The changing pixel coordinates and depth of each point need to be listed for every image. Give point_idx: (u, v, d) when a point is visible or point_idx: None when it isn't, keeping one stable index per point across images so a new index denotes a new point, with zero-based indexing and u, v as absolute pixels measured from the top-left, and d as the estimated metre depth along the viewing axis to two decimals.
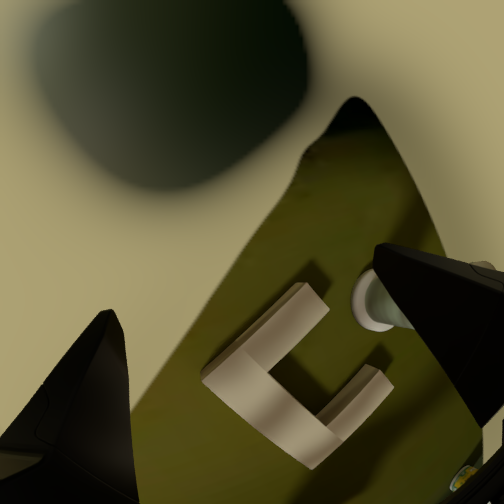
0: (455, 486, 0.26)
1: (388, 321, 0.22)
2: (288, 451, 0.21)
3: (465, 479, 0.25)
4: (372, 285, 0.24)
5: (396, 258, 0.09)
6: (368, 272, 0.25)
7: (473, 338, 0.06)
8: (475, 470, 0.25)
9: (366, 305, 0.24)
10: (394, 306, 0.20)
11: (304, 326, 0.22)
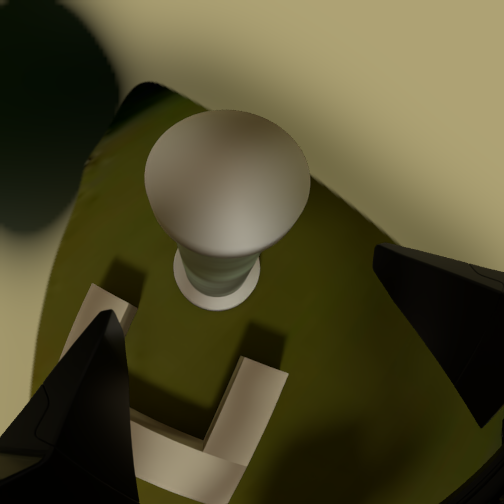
0: None
1: (206, 287, 0.17)
2: (172, 489, 0.14)
3: None
4: None
5: (396, 258, 0.09)
6: None
7: (473, 338, 0.06)
8: None
9: (189, 282, 0.19)
10: (183, 263, 0.15)
11: None
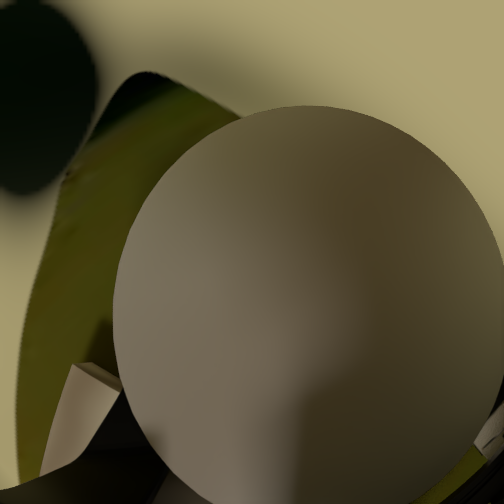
0: None
1: None
2: None
3: None
4: None
5: None
6: None
7: None
8: None
9: None
10: None
11: None
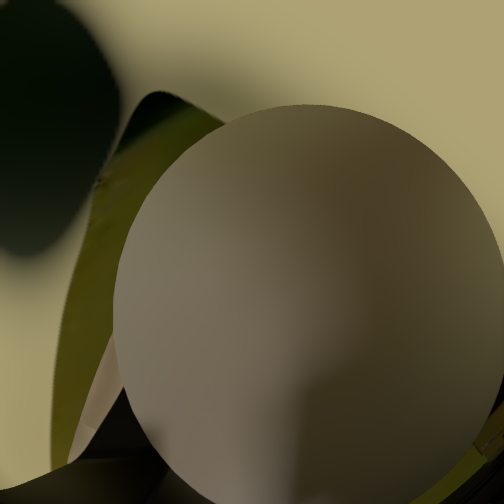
0: None
1: None
2: None
3: None
4: None
5: None
6: None
7: None
8: None
9: None
10: None
11: None
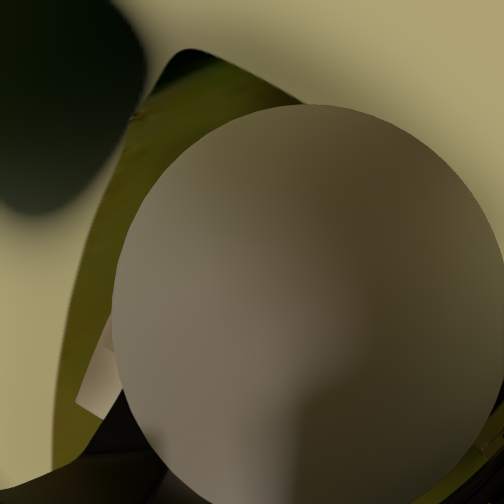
0: None
1: None
2: None
3: None
4: None
5: None
6: None
7: None
8: None
9: None
10: None
11: None
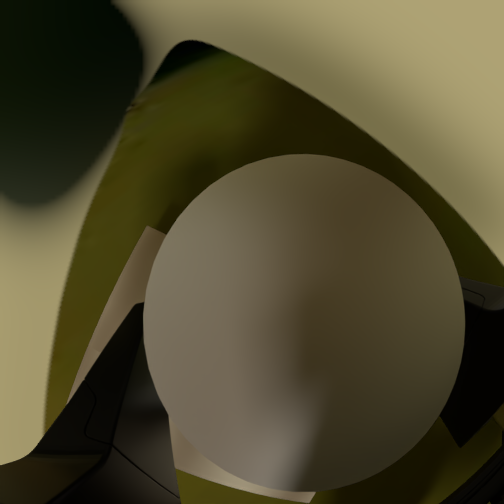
0: None
1: None
2: (247, 488, 0.11)
3: None
4: None
5: None
6: None
7: None
8: None
9: None
10: None
11: None
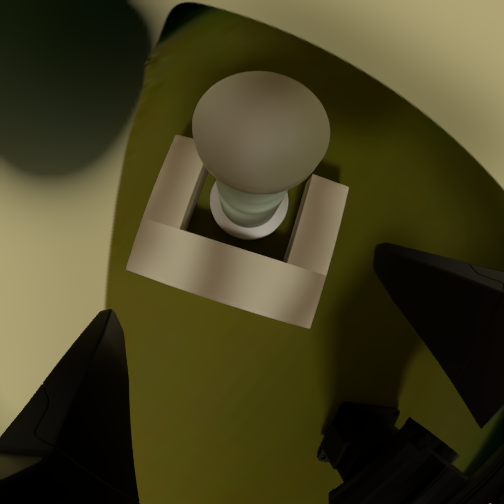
0: None
1: (244, 220, 0.19)
2: (260, 312, 0.20)
3: None
4: None
5: (396, 258, 0.09)
6: (215, 182, 0.23)
7: (472, 338, 0.06)
8: None
9: (227, 217, 0.22)
10: (223, 201, 0.18)
11: (193, 169, 0.21)
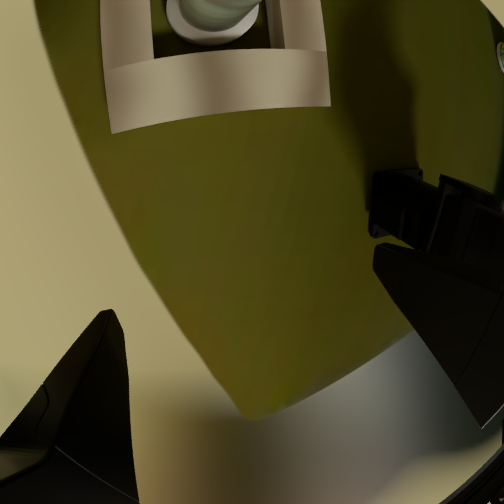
0: None
1: (229, 19, 0.12)
2: (279, 105, 0.17)
3: None
4: (180, 8, 0.13)
5: (396, 258, 0.09)
6: (167, 3, 0.13)
7: (472, 338, 0.06)
8: None
9: (198, 28, 0.14)
10: (206, 6, 0.10)
11: None
